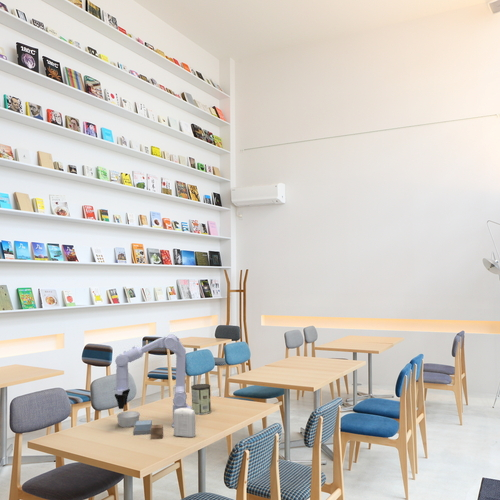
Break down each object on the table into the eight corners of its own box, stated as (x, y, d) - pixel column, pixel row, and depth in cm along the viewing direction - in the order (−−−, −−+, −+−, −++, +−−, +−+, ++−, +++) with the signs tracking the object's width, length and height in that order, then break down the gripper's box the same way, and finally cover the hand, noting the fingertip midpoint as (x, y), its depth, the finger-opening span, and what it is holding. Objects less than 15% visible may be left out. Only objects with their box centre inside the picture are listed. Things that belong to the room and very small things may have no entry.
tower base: (152, 430, 229) (152, 425, 229) (150, 435, 221) (150, 430, 221) (135, 431, 228) (135, 426, 228) (133, 436, 220) (133, 431, 220)
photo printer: (197, 435, 218) (196, 407, 219) (193, 437, 214) (192, 409, 215) (176, 433, 221) (176, 406, 222) (172, 436, 217) (172, 408, 218)
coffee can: (199, 408, 264) (199, 383, 265) (214, 411, 258) (214, 384, 259) (187, 413, 255) (187, 386, 256) (202, 415, 250) (202, 388, 251)
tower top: (151, 425, 229) (151, 420, 229) (150, 429, 222) (150, 424, 222) (136, 426, 228) (136, 420, 228) (134, 430, 221) (134, 425, 221)
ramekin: (134, 428, 231) (134, 417, 231) (112, 427, 233) (112, 416, 234) (143, 421, 242) (143, 411, 242) (123, 421, 244) (123, 410, 245)
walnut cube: (163, 435, 219) (163, 424, 219) (162, 438, 214) (162, 427, 214) (152, 436, 218) (152, 424, 219) (150, 439, 214) (150, 428, 214)
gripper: (116, 376, 241) (117, 403, 240) (111, 381, 227) (111, 410, 226) (131, 375, 242) (131, 402, 241) (126, 381, 227) (126, 410, 226)
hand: (122, 406), depth 233 cm, fingers open, 7 cm apart
